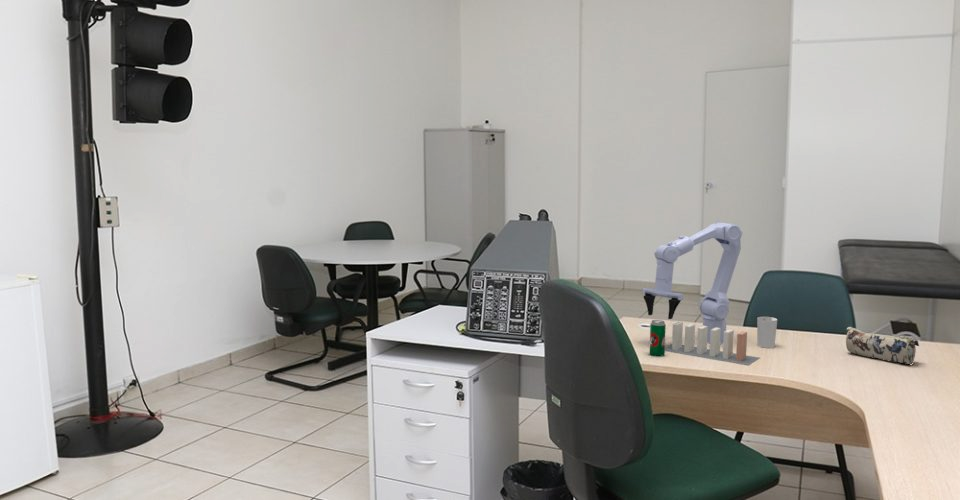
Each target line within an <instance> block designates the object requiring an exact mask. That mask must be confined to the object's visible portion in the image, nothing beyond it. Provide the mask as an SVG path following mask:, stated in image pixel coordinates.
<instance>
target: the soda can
mask: <svg viewBox="0 0 960 500" xmlns="http://www.w3.org/2000/svg"><path fill="white" fill-rule="evenodd" d="M665 347H666V323H665V321H664V320H661V319H654V320H651V321H650V326H649V355H650V356H653V357H664V356H665V355H666V354H665V352H666V351H665Z"/></svg>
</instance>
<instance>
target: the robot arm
mask: <svg viewBox="0 0 960 500" xmlns="http://www.w3.org/2000/svg"><path fill="white" fill-rule="evenodd" d="M742 235H743V231H742V230H741V228H740V226H739V225H738V224H736V223H727V222H721V221H717V222H715V223H710V224H709V225H708V226H707V227H706V228H704V229H702V230H700V231H698V232H697V233H695V234H693V235H691V236H690V237H689V236H686V235H680V236H678V238H677V239H676V240H673V241H669V242H667V244H662V245H659V246H657V248H656V251H655V252H654V257H655V259H656V269H655V270H656V271H655V282H654V288H645V287H644V288H642V292H641V293H642V295H643V299H644V301H645V304H646V305H645V306H646V309H647V314H648V316H652V315H653V314H654V313H653V312H654V304H655V301H656V298H657V297H662V298H667V299H668V316H667V317H668V318H667V319H668V320H672V319H673V317H674V315H675V312H676V310H677V308H678V307H679V304H681V301H683V299H684V294H682V293H678V292H673V291H672V288H673V287H672V284H673V276H674V275H673V274H674V266H675V265H674V264H675V262H676V261H677V260H678V258H679V257H681V256H684V255H685V254H688V253H690V252H691V251H693V250H694V247H695V246H696V245H699V244H701V243H703V242H705V241H709V240H711V239H714V240H716V241H717V242H718V243H719V244H720V246H721V247H722V249H723V251H722V254H721V258H720V261H719V264H718V267H717V271H716V273H715V275H714V280H713V282H712V286H711V288H710V291H708V292H707V293H705V295H704V297H703V299H702V300H701V301H700V303H699V311H700V313H701V314H702V319H703V320H702V326H708V333H707V344H708V345H710V332H711V330H712V329H714V328H716V327H717V328H721V331H720V346H721V345H723V338H724V332H725V331H727V322H726V318H727V316H728V315H729V310H730V309H729V305H730V300H729V297H728V296H727V293H728V291H729V287H730V284H731V280H732V278H733V276H734V275H733V274H734V272H735V269H736V265H737V262H738V258H739V255H740V254H741V249H742V248H741V247H742V246H741V238H742Z"/></svg>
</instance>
